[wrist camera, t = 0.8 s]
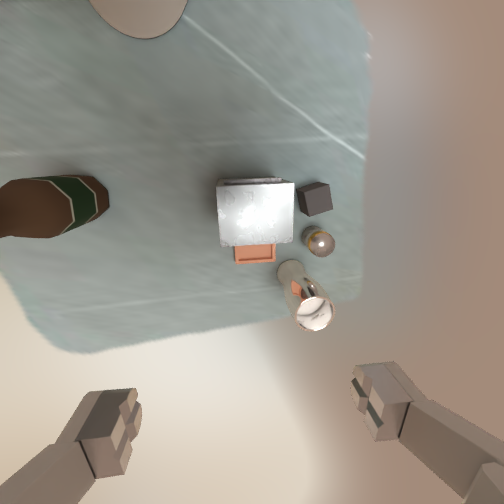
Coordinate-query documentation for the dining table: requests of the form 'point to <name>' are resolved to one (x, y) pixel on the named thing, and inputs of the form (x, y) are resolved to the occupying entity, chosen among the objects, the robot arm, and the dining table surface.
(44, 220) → the beer bottle
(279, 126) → the dining table surface
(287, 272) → the beer glass
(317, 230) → the cylinder
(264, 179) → the dark grey block
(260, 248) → the tray
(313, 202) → the rubber block
